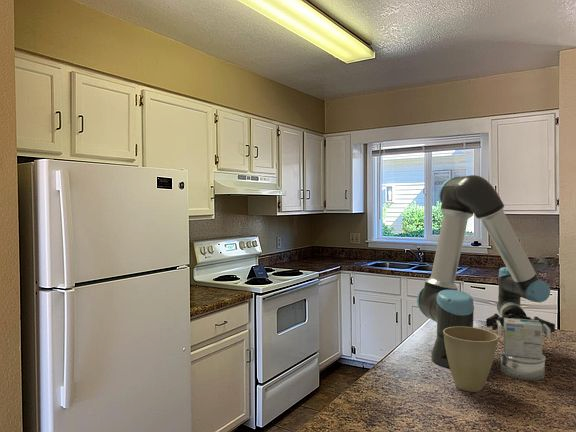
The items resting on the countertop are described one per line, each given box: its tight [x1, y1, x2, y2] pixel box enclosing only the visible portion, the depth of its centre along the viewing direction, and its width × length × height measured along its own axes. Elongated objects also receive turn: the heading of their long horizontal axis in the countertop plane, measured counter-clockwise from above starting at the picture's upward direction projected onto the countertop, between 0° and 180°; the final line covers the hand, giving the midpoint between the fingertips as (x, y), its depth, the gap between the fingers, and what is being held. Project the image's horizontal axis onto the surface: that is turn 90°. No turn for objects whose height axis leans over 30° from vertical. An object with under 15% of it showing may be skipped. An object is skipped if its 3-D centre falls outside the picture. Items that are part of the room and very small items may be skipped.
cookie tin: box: [499, 348, 547, 381], centre depth 143 cm, size 13×13×6 cm
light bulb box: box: [503, 318, 543, 359], centre depth 142 cm, size 11×7×11 cm, turn 69°
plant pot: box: [443, 326, 499, 393], centre depth 131 cm, size 15×15×16 cm
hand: (524, 331), depth 139 cm, fingers open, 13 cm apart
